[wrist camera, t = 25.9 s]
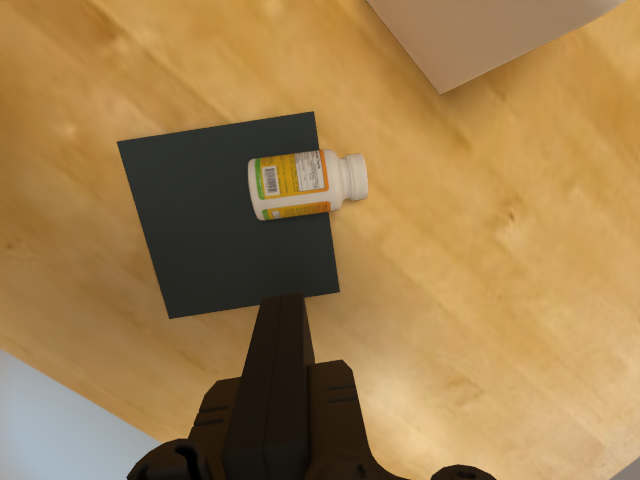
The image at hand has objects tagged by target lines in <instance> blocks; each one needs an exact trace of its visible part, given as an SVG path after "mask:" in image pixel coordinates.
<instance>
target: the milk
mask: <svg viewBox="0 0 640 480" xmlns="http://www.w3.org/2000/svg"><path fill="white" fill-rule="evenodd" d="M366 1H367V2H368V3H369V5H370V6H371V7H372V9H373V10H374V11H375V12H376V14H377V15H378V16H379V18H380V19H381V20H382V21H383V23H384V24H385V25H386V26H387V28H388V29H389V30H390V32H391V33H392V34H393V35H394V37H395V38H396V39H397V41H398V42H399V43H400V44H401V46H402V47H403V48H404V50H405V51H406V52H407V53H408V55H409V56H410V57H411V58H412V60H413V61H414V62H415V64H416V65H417V66H418V67H419V69H420V70H421V71H422V73H423V74H424V75H425V76H426V78H427V79H428V80H429V81H430V83H431V84H432V85H433V87H434V88H435V89H436V90H437V92H438V93H439V94H440V95H441V94H443V93H445V92H447V91H449V90H451V89H454V88H456V87H458V86H460V85H462V84H464V83H466V82H468V81H470V80H472V79H474V78H476V77H478V76H480V75H482V74H484V73H487V72H489V71H491V70H493V69H495V68H497V67H499V66H501V65H503V64H505V63H507V62H509V61H511V60H513V59H515V58H518V57H520V56H522V55H524V54H526V53H528V52H530V51H532V50H534V49H536V48H538V47H540V46H542V45H544V44H546V43H548V42H551V41H553V40H555V39H557V38H559V37H561V36H563V35H565V34H567V33H569V32H571V31H573V30H575V29H577V28H579V27H582V26H584V25H586V24H588V23H590V22H592V21H594V20H596V19H597V18H599V17H601V16H603V15H605V14H606V13H608V12H610V11H611V10H613V9H614V8H616V7H617V6H619V5H620V4H622V3H623V2H625V1H626V0H366Z"/></svg>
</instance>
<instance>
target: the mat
mask: <svg viewBox="0 0 640 480" xmlns="http://www.w3.org/2000/svg"><path fill="white" fill-rule="evenodd" d="M117 144H118V148H119V151H120V155H121V158H122V161H123V165H124V168H125V171H126V175H127V178H128V181H129V185H130V188H131V191H132V195H133V198H134V202H135V205H136V208H137V212H138V215H139V218H140V222H141V225H142V228H143V232H144V235H145V238H146V242H147V245H148V249H149V252H150V255H151V259H152V262H153V265H154V269H155V272H156V275H157V279H158V282H159V285H160V289H161V292H162V295H163V299H164V302H165V306H166V309H167V312H168V316H169V319H172V318H179V317H185V316H191V315H198V314H204V313H211V312H217V311H223V310H230V309H236V308H242V307H249V306H255V305H260V304H261V300H262V298H267V297H273V296H280V295H286V294H292V293H299V292H303V294H304V298H306V297H312V296H319V295H325V294H331V293H338V292H340V290H339V283H338V276H337V269H336V262H335V255H334V248H333V241H332V234H331V228H330V221H329V214H328V212H323V213H315V214H308V215H300V216H292V217H285V218H278V219H271V220H259V219H258V218H257V216H256V214H255V211H254V208H253V204H252V200H251V196H250V190H249V182H248V163H249V161H250V160H252V159H257V158H264V157H272V156H279V155H287V154H295V153H302V152H310V151H317V150H319V144H318V137H317V130H316V123H315V116H314V112H306V113H300V114H293V115H287V116H280V117H274V118H267V119H261V120H254V121H248V122H241V123H235V124H228V125H222V126H215V127H209V128H202V129H196V130H189V131H183V132H176V133H170V134H163V135H157V136H150V137H144V138H137V139H131V140H124V141H118V142H117Z"/></svg>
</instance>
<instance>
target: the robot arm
mask: <svg viewBox="0 0 640 480" xmlns="http://www.w3.org/2000/svg"><path fill="white" fill-rule="evenodd" d="M127 480H409V479H405V478H402V477H398V476H395V475H393V474H392V473H390V472H388V471H386V470H385V469H384V468H383V467H381V466H380V465H379V464H378V463H377V461H376V460H375V459H374V457H373V456H372V454H371V451H370V448H369V445H368V440H367V435H366V431H365V426H364V422H363V417H362V413H361V408H360V403H359V399H358V394H357V390H356V386H355V381H354V376H353V372H352V369H351V368H350V367H349V366H348V365H347V364H346V363H345V362H344V361H343V360H336V361H330V362H323V363H317V364H315V357H314V351H313V346H312V340H311V334H310V329H309V323H308V317H307V311H306V306H305V300H304V294H303V292H299V293H292V294H286V295H280V296H273V297H267V298H262V300H261V304H260V308H259V311H258V315H257V319H256V323H255V327H254V331H253V334H252V338H251V342H250V346H249V350H248V353H247V357H246V361H245V365H244V369H243V373H242V376H241V377H237V378H231V379H224V380H218V381H216V383H215V384H214V385H213V386H212V387H211V388H210V389H209V391H208V392H207V393H206V394H205V396H204V398H203V401H202V403H201V406H200V408H199V413H198V414H197V416H196V419H195V421H194V427H192V429H191V432H190V434H189V437H188V439H176V440H173V441H169V442H166V443H163V444H162V445H160V446H158V447H157V448H155V449H153V450H151V451H150V452H148V453H147V454H146V455H145V456H144V457H143V458H142V459H141V460H139V461H138V462H137V463H136V465H135V466H134V467H133V469H132V470H131V472H130V473H129V474H128V476H127ZM430 480H496V479H495V478H494V477H493V476H492V475H491V474H489V473H486V472H484V471H482V470H480V469H478V468H476V467H472V466H466V465H459V464H458V465H453V466H448V467H443V468H442V469H441V470H439V471H438V472H436V473H435V474H434V475H432V477H431V479H430Z"/></svg>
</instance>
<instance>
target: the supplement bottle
mask: <svg viewBox="0 0 640 480" xmlns="http://www.w3.org/2000/svg"><path fill="white" fill-rule="evenodd" d="M248 182H249V190H250V196H251V200H252V204H253V208H254V211H255V214H256V216H257V218H258V219H259V220H271V219H278V218H285V217H292V216H300V215H308V214H315V213H323V212H331V211H335V210H338V209H339V208H340V207H341V206H342V204H343V200H345V199H350V200H351V201H352V200H354V201H356V200H361V199H366V198H367V195H368V178H367V170H366V164H365V160H364V157H363V155H362V154H360V153H359V154H349V155H346V156H345V158H338V156H337V154H336V153H335V152H334V151H333V150H330V149H325V150H317V151H310V152H302V153H295V154H287V155H279V156H272V157H264V158H257V159H252V160H250V161H249V163H248Z"/></svg>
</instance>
